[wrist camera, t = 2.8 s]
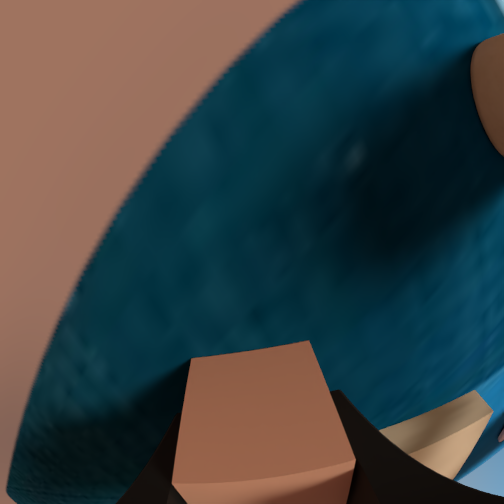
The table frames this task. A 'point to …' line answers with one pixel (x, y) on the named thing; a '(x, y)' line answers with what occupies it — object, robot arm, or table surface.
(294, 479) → the terracotta block
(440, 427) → the birch block
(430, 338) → the table surface
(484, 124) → the candle
